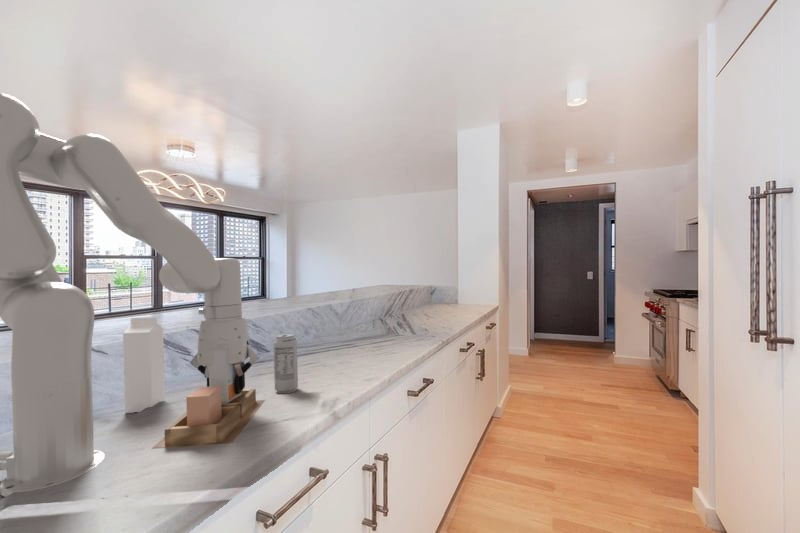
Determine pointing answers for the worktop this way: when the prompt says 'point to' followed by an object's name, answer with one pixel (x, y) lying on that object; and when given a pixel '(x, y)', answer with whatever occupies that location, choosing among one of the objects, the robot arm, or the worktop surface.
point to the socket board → (224, 432)
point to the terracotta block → (204, 406)
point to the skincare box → (223, 376)
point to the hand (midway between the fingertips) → (226, 392)
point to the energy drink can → (285, 363)
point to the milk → (143, 364)
